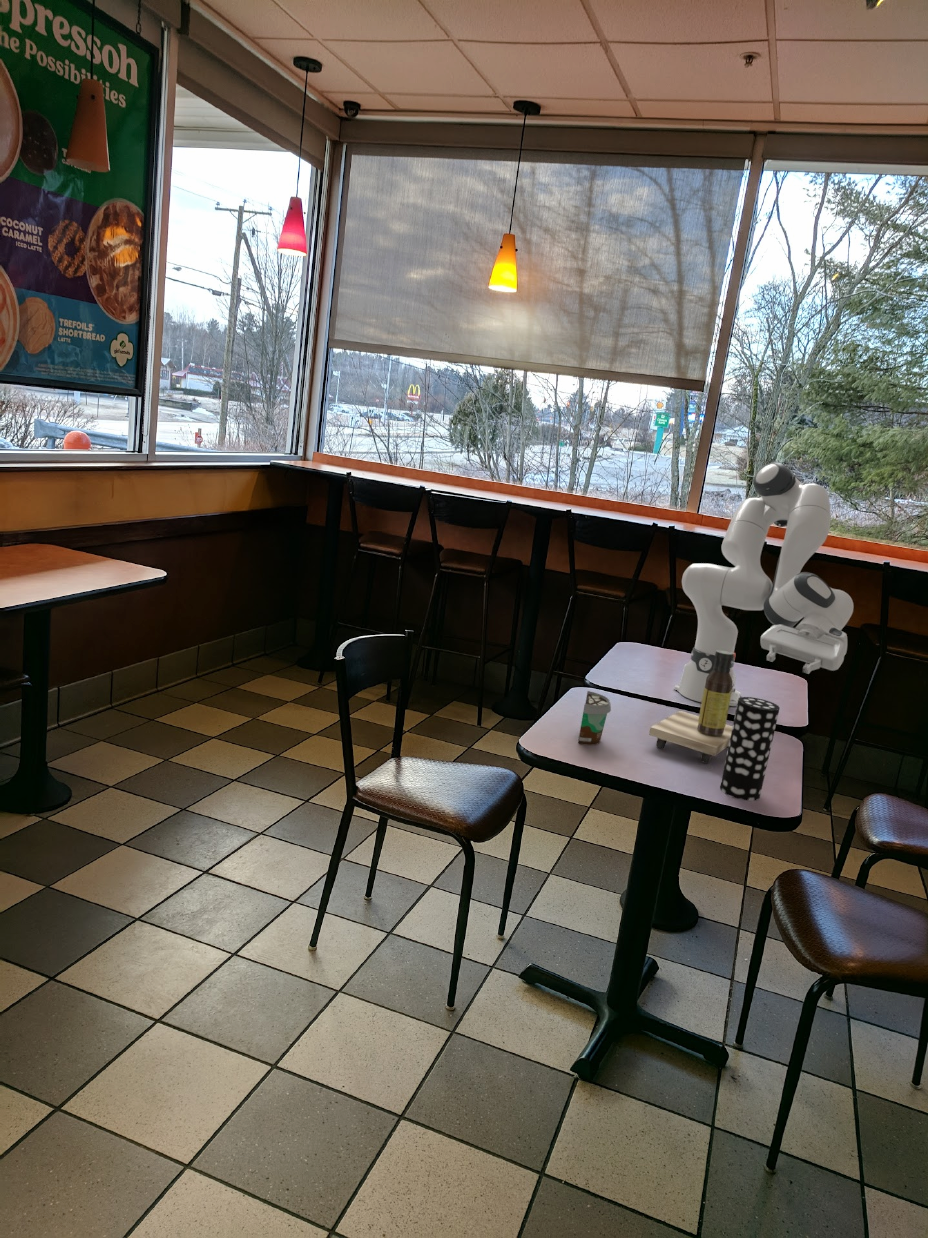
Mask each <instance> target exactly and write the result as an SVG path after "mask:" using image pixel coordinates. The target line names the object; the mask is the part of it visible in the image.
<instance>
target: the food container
mask: <svg viewBox="0 0 928 1238" xmlns="http://www.w3.org/2000/svg"><path fill="white" fill-rule="evenodd" d="M585 698H586V699H585V703H584V704H583V705H584V707H583V711H582V712H583V713H582V717H581V722H580V730H579V735H578V741H577V744H578V743H579V744H578V745H585V746H587V745H589V746H590V745H597V743H598V744H600V742H601V739H602V736H603V732H604V728H605V723H606V719H607V716H608V713H609V714H610V713H611V711H612V709H611V708H612V707H611V704H612V703H611V700H610V698H608V697H606V695H603V694H601V693H598V692H594V691H590V690H587V692H586V697H585Z"/></svg>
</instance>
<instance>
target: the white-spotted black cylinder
mask: <svg viewBox="0 0 928 1238" xmlns="http://www.w3.org/2000/svg"><path fill="white" fill-rule="evenodd" d="M780 708H781V707H780V706H779V705H778V704H776V703H774V702H772V701H769V700H766V699H763V698H758V697H752V696H740V698H739V699H738V703H737V706H736V708H735V709H736V710H735V715H734V718H733V724H732V726H733V727H732V732H731V737H730V742H729V746H728V748H727V752H726V757H725V761H724V765H723V770H722V774H721V775H722V776H721V781H720V784H719V789H720V791H721V792H723V793H724V794H725V795H727V796H729V797H732V798H735V799H739V800H740V801H741V800H742V801H750V802H751V801H758V800H759V799H760V798H761V794H762V789H763V785H764V780H765V776H766V771H767V767H768V762H769V757H770V753H771V749H772V744H773V739H774V736H775V731H776V726H777V721H778V718H779V712H780Z"/></svg>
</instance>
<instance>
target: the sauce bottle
mask: <svg viewBox="0 0 928 1238" xmlns="http://www.w3.org/2000/svg"><path fill="white" fill-rule="evenodd" d="M732 659H733V653H731V652H728V651H723V650H717V651H716V653H715V663H714V666H713V671H712V672H710V673H709V675H708V676H707V678H706V683H705V687H704V692H703V698H702V702H701V705H700V710H699V715H698V716H699V720H698V722H699V723H698V731H699V732H701V733H703V734H706V735H711V736H719V735H722V734H723V732H724V728H725V725H726V724H727V720H728V712H729V708H730V706H729V702H730V697H731V692H732V683H733V682H732V678H731V676H730V674H729V672H730V667H731V661H732Z"/></svg>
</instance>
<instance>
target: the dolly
mask: <svg viewBox="0 0 928 1238" xmlns="http://www.w3.org/2000/svg"><path fill="white" fill-rule="evenodd" d="M698 720H699V715H695V714H692V713H689V712H685V711H682V710H679V711H677V712H674V713H673V714H671V715H669V716H667V717H666V718H664V719H662V720H661V721H659V722H657V723H655V724H653V725H652V726H650V727H649V733H648V735H649V736H651V737H653V738H656V743H655V744H656V745H655V747H656V748H660V749H661V750H662V749H664V748H665V747H666V745H667V742H670V743H671V744H676V745H680V746H682V747H684V748H685V747H686V748H688V749H692V750H694V751H697V752H701V757H700V761H701V762H702V763H704V764H709V763H710V761H711V758H712V756H714V757H715V756H717V755H718V754H720V753H721V752H722V751H724V750H725V749H728V746H729V742H730V737H731V732H732V727H733V725H730V724H727V723H726V725H725V728H724V732H723V734H722V735H719V736H711V735H706V734H703V733H701V732H699V731H698V723H699V722H698Z"/></svg>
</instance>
